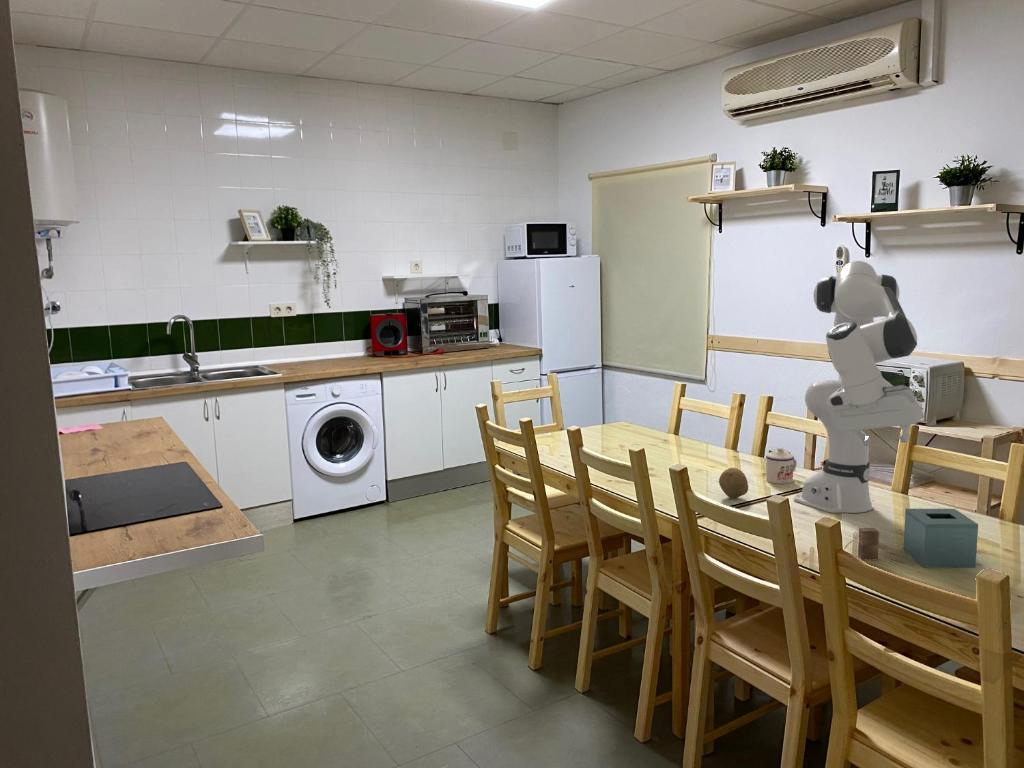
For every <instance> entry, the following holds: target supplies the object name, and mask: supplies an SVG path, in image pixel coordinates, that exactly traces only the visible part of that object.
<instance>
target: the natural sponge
mask: <svg viewBox="0 0 1024 768" xmlns="http://www.w3.org/2000/svg"><path fill="white" fill-rule="evenodd" d="M718 484H719V487H720V488H721V490H722V492H723V493H724V494H725V496H727V497H728V498H729V499H731V498H733V499H735V498H736V499H738V498H740V497H742V496H744V495H746V494H747V493H748V491H749V482H748V480H747V477H746V474H745V473H744V472H743V471H742V470H740V469H739V468H738V467H737V468H736V467H730V468H727V469H725V470H724V471H723V472H722V473H721V474H720V476H719V478H718ZM733 499H732V500H733Z"/></svg>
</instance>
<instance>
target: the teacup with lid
mask: <svg viewBox="0 0 1024 768" xmlns="http://www.w3.org/2000/svg"><path fill="white" fill-rule="evenodd" d="M783 449H784V448H783V447H777V448H776V449H775V450H776V451H773V452H771V453H769V452H768V453H767V454H765V458H766V473H765V475H766V476H765V478H766V479H765V480H766V481H767V482H768V483H771V484H775V485H776V484H777V485H789V484H792V483H793V481H794V480H793V478H794V471H795V470H796V468H797V463H798V462H797V460H796V459H795V457H794V455H793V454H792V453H791V452H790V453H791V454H790V453H787V452H786V451H787V450H786V451H783Z"/></svg>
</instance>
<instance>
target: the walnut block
mask: <svg viewBox="0 0 1024 768" xmlns="http://www.w3.org/2000/svg"><path fill="white" fill-rule="evenodd" d="M879 542H880V531H879V530H878V528H876V527H859V528H858V542H857V543H858V544H857V545H858V546H857V547H858V549H857V557H858V558H859V559H860V558H861V559H862V561H863V560H864V561H866V560H865V559H867V560H868V559H878V560H879V544H880V543H879ZM861 559H860V560H861ZM868 561H869V560H868Z"/></svg>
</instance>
